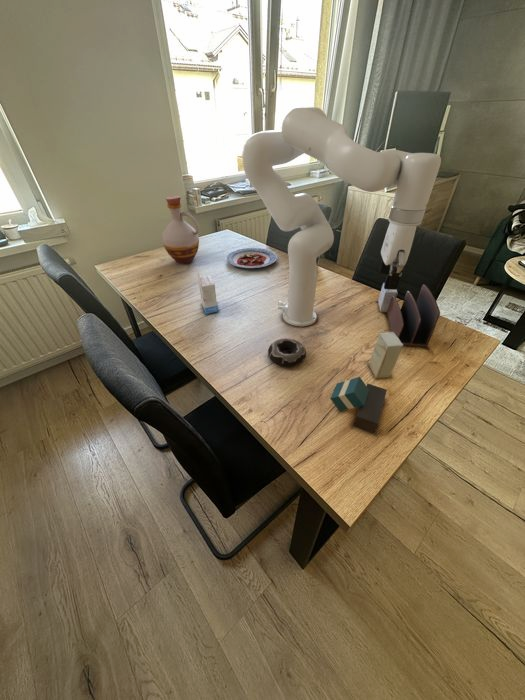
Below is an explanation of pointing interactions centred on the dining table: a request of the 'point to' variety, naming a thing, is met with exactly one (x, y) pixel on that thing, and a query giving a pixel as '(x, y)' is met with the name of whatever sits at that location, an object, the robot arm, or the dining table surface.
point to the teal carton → (350, 394)
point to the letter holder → (414, 318)
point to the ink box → (207, 294)
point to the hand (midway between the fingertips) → (387, 280)
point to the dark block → (371, 409)
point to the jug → (180, 233)
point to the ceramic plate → (251, 258)
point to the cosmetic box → (385, 354)
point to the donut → (287, 359)
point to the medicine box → (386, 298)
